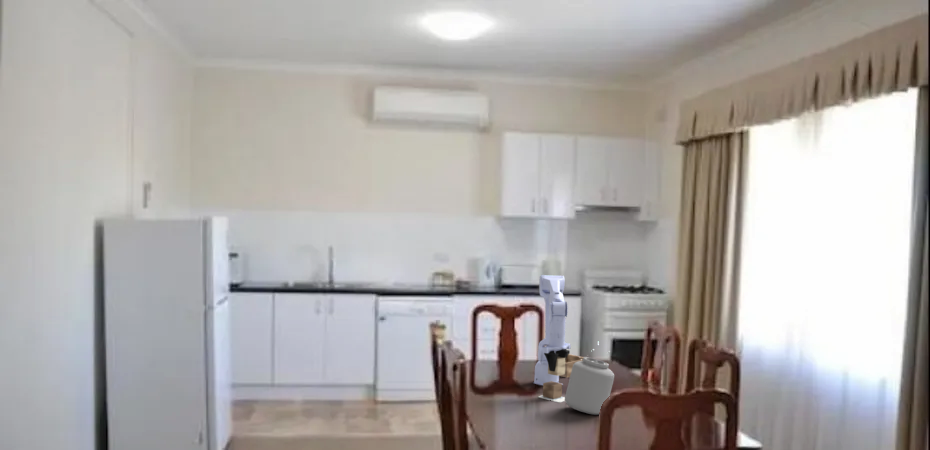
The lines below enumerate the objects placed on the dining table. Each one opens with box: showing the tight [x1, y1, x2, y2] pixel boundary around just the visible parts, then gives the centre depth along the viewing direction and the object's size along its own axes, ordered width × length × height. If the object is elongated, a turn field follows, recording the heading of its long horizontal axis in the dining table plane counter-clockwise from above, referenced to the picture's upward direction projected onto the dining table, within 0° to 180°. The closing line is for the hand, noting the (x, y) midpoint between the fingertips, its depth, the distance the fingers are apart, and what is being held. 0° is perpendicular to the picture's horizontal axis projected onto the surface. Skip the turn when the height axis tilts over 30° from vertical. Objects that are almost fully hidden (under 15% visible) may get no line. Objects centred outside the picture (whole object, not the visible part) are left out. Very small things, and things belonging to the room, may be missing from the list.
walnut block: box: [542, 381, 563, 399], centre depth 278 cm, size 5×5×5 cm
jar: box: [564, 341, 615, 416], centre depth 261 cm, size 19×15×25 cm
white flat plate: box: [537, 394, 565, 404], centre depth 278 cm, size 10×7×1 cm
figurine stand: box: [559, 353, 584, 378], centre depth 321 cm, size 12×16×6 cm
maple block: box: [548, 357, 565, 377], centre depth 279 cm, size 4×4×6 cm
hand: (556, 370), depth 279 cm, fingers closed on maple block, 4 cm apart
